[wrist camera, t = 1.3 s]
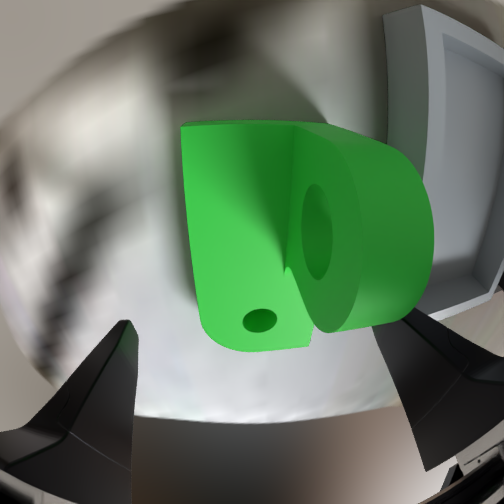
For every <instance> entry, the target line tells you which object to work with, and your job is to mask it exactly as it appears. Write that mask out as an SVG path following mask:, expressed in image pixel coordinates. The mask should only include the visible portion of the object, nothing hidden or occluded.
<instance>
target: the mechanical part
mask: <svg viewBox="0 0 504 504" xmlns="http://www.w3.org/2000/svg"><path fill="white" fill-rule="evenodd" d="M180 132H181V150H182V166H183V180H184V192H185V203H186V214H187V224H188V233H189V242H190V250H191V259H192V266H193V274H194V281H195V288H196V295H197V302H198V309H199V315H200V321H201V324H202V327H203V329H204V331H205V332H206V333H207V335H208V336H209V337H210V338H211V339H212V340H214V341H215V342H217V343H218V344H220V345H222V346H224V347H226V348H229V349H232V350H236V351H242V352H261V351H272V350H282V349H291V348H299V347H307V346H309V343H310V339H311V335H312V331H313V326H314V324H315V326H316V327H317V328H318V329H319V330H321V331H323V332H325V333H333V332H340V331H346V330H352V329H358V328H364V327H369V326H375V325H380V324H385V323H390V322H395V321H397V320H400V319H401V318H403V317H405V316H406V315H407V314H408V313H409V312H410V311H411V310H412V309H413V308H414V307H415V306H416V304H417V303H418V301H419V300H420V298H421V296H422V294H423V292H424V290H425V288H426V285H427V282H428V280H429V276H430V272H431V268H432V262H433V255H434V223H433V215H432V210H431V205H430V201H429V198H428V194H427V191H426V189H425V186H424V184H423V182H422V179H421V177H420V175H419V174H418V172H417V170H416V169H415V167H414V166H413V164H412V163H411V162H410V161H409V159H408V158H407V157H406V156H405V155H404V154H402V153H401V152H400V151H398V150H397V149H395V148H393V147H391V146H389V145H386V144H384V143H381V142H379V141H376V140H374V139H371V138H369V137H366V136H363V135H360V134H358V133H355V132H352V131H349V130H346V129H343V128H340V127H337V126H334V125H331V124H327V123H316V122H302V121H282V120H218V121H198V122H186V123H185V124H183V125H182V126H181V127H180ZM255 309H258V310H255Z"/></svg>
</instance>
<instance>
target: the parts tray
mask: <svg viewBox="0 0 504 504" xmlns="http://www.w3.org/2000/svg"><path fill="white" fill-rule="evenodd" d="M382 17H383V24H384V33H385V43H386V56H387V74H388V134H387V145H389V146H391V147H393V148H395V149H397V150H398V151H400V152H401V153H402V154H404V155H405V156H406V157H407V158H408V159H409V161H410V162H411V163H412V164H413V166H414V167H415V169H416V170H417V172H418V174H419V175H420V177H421V179H422V182H423V184H424V186H425V189H426V191H427V194H428V198H429V201H430V205H431V210H432V215H433V223H434V255H433V262H432V268H431V272H430V276H429V280H428V282H427V285H426V288H425V290H424V292H423V294H422V296H421V298H420V300H419V301H418V303H417V304H416V306H415V308H417V309H419V310H420V311H422V312H423V313H425V314H427V315H428V316H430V317H431V318H433V319H435V320H436V321H439V320H442V319H444V318H447V317H450V316H452V315H455V314H458V313H460V312H463V311H465V310H468V309H470V308H472V307H475V306H477V305H479V304H482V303H484V302H486V301H489V300H491V297H492V295H493V293H494V291H495V289H496V287H497V285H498V283H499V280H500V278H501V276H502V274H503V271H504V49H503V48H502V47H500V46H499V45H497V44H496V43H494V42H493V41H491V40H490V39H488V38H486V37H485V36H483V35H482V34H480V33H478V32H476V31H475V30H473V29H471V28H470V27H468V26H466V25H464V24H462V23H460V22H458V21H456V20H454V19H453V18H451V17H448V16H446V15H444V14H442V13H440V12H438V11H436V10H433V9H431V8H429V7H426V6H424V5H421V4H420V5H416V6H412V7H408V8H405V9H401V10H398V11H394V12H391V13H388V14H385V15H382Z"/></svg>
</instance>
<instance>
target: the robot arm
mask: <svg viewBox="0 0 504 504" xmlns="http://www.w3.org/2000/svg"><path fill="white" fill-rule="evenodd" d="M501 290H503V292H504V271H503V274H502V276H501V278H500V280H499V283H498V285H497V287H496V289H495V291H494V293H496V292H499V291H501ZM494 293H493V294H494ZM372 329H373V332H374V336H375V339H376V341H377V344H378V346H379V348H380V351H381V353H382V355H383V358H384V360H385V362H386V365H387V367H388V369H389V372H390V374H391V377H392V379H393V381H394V384H395V386H396V389H397V391H398V394H399V396H400V399H401V402H402V404H403V407H404V409H405V412H406V415H407V418H408V420H409V423H410V426H411V428H412V432H413V435H414V438H415V441H416V444H417V447H418V450H419V453H420V456H421V459H422V462H423V465H424V469H425V471H426V472H427V471H429V470H431V469H433V468H434V467H436V466H438V465H440V464H441V463H443V462H444V461H446V460H448V459H450V458H451V457H453V456H456V459H457V461H458V463H457V464H455V465H454V466H452V467H451V468H449V471H448V473H447V476H446V478H445V481H444V483H443V485H442V488H441V490H440V492H438V493H437V494H435V495H433V496H431V497H430V498H428V499H426V500H424V501H423V502H420V503H418V504H504V357H500V356H497V355H495V354H493V353H491V352H489V351H488V350H486V349H484V348H482V347H480V346H478V345H476V344H474V343H472V342H471V341H469V340H467V339H465V338H464V337H462V336H460V335H459V334H457V333H455V332H454V331H452V330H451V329H449V328H447V327H446V326H444V325H443V324H441V323H439V322H438V321H436V320H435V319H433V318H431V317H430V316H428V315H427V314H425V313H423V312H422V311H420V310H419V309H417V308H415V307H414V308H413V309H412V310H411V311H410V312H409V313H408V314H407V315H406V316H405V317H403V318H401V319H400V320H397V321H395V322H390V323H385V324H380V325H375V326H372ZM138 344H139V338H138V334H137V332H136V330H135V328H134V326H133V324H132V322H131V321H130V320H120V321H118V322H117V324H116V325H115V326H114V327H113V328H112V329H111V330H110V331H109V332H108V334H107V335H106V336H105V337H104V338H103V339H102V340H101V341H100V342H99V344H98V345H97V346H96V347H95V348H94V349H93V350H92V352H91V353H90V354H89V355H88V356H87V357H86V358H85V360H84V361H83V362H82V363H81V364H80V365H79V367H78V368H77V369H76V370H75V371H74V372H73V374H72V375H71V376H70V377H69V378H68V380H67V381H66V382H65V383H64V384H63V385H62V387H61V388H60V389H59V390H58V391H57V392H56V394H55V395H54V396H53V397H52V398H51V399H50V400H49V401H48V403H46V404H45V406H44V407H43V408H42V409H41V410H40V411H39V412H38V413H37V414H36V415H35V416H34V417H33V418H32V419H31V420H30V421H29V422H28V423H27V424H25V425H24V426H22V427H20V428H18V429H14V430H9V431H4V432H0V504H132V502H131V455H132V434H133V419H134V407H135V396H136V387H137V378H138Z"/></svg>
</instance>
